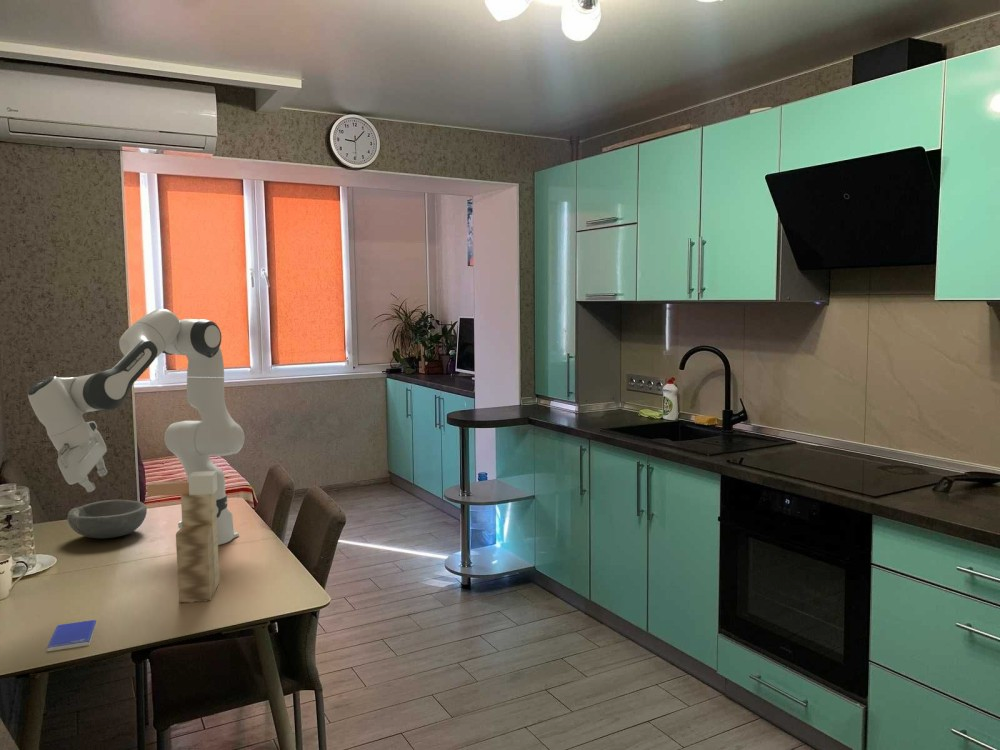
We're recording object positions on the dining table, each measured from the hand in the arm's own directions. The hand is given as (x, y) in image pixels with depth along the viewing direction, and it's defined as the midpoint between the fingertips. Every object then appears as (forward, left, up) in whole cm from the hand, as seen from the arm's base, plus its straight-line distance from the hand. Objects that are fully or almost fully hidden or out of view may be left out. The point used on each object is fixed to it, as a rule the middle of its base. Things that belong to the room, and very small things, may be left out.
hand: (98, 482), depth 197 cm
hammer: (+14, +18, -3) cm, 23 cm away
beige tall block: (+18, +20, -29) cm, 40 cm away
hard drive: (+29, -10, -30) cm, 43 cm away
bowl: (-51, +9, -29) cm, 59 cm away
